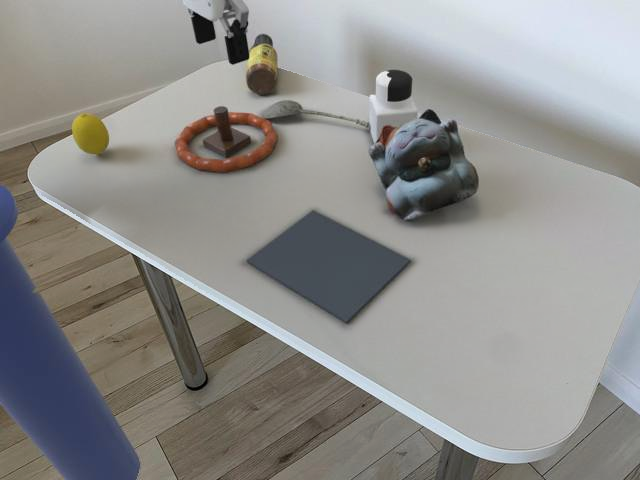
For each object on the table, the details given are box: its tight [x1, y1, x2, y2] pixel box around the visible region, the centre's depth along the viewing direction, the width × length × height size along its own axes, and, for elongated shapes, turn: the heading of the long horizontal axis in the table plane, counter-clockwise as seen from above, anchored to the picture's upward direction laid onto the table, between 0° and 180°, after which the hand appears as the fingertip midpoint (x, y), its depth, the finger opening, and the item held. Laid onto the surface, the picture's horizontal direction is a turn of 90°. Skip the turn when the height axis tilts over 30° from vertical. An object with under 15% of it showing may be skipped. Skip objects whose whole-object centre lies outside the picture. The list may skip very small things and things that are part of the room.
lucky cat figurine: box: [368, 108, 480, 221], centre depth 83 cm, size 15×12×14 cm
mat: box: [246, 209, 411, 324], centre depth 77 cm, size 14×18×1 cm
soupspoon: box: [262, 99, 371, 132], centre depth 103 cm, size 22×3×7 cm
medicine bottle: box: [369, 69, 419, 144], centre depth 96 cm, size 7×7×12 cm
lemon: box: [71, 112, 110, 156], centre depth 95 cm, size 6×6×8 cm
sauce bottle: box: [245, 33, 279, 96], centre depth 117 cm, size 6×6×20 cm
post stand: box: [201, 105, 252, 159], centre depth 97 cm, size 6×6×7 cm
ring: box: [174, 111, 279, 173], centre depth 99 cm, size 18×18×2 cm
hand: (222, 51), depth 83 cm, fingers open, 9 cm apart
